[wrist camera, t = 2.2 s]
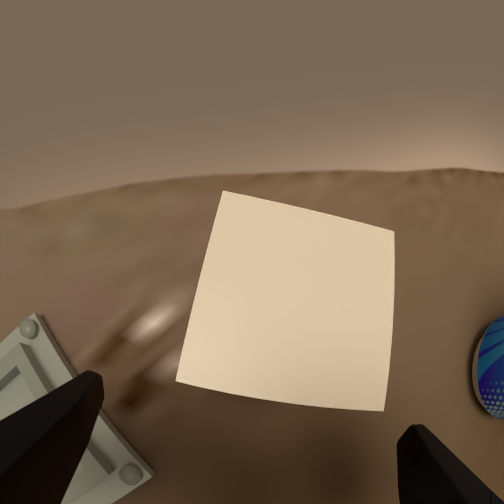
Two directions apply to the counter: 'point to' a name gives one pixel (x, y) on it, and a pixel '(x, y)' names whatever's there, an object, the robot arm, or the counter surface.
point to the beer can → (490, 369)
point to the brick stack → (292, 307)
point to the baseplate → (44, 381)
